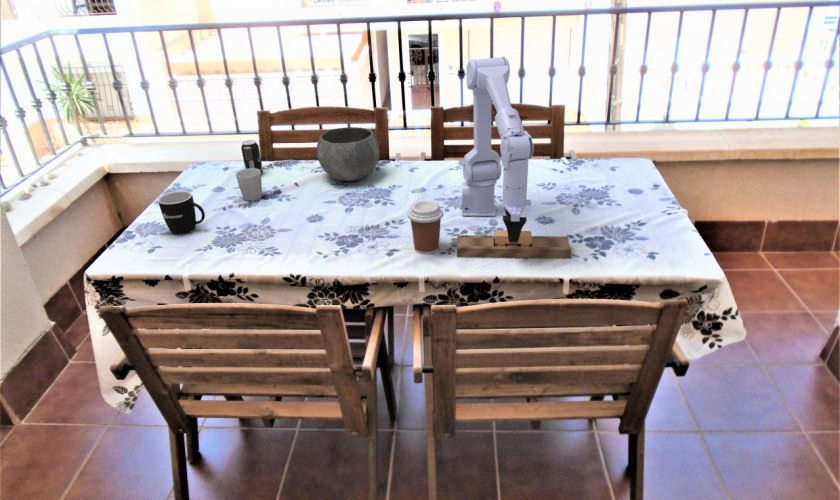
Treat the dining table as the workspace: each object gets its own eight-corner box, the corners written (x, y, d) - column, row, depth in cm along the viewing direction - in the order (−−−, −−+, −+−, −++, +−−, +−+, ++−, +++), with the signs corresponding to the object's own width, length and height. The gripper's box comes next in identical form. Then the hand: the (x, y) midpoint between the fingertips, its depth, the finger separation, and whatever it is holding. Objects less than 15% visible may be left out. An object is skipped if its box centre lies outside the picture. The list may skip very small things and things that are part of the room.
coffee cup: (441, 257, 151) (440, 214, 145) (406, 255, 152) (403, 213, 146) (446, 240, 158) (445, 199, 153) (412, 239, 160) (410, 198, 154)
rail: (456, 256, 151) (456, 248, 149) (457, 243, 157) (457, 235, 155) (570, 258, 148) (570, 249, 146) (566, 245, 154) (567, 236, 153)
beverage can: (258, 171, 210) (252, 138, 204) (266, 175, 206) (260, 141, 200) (243, 175, 207) (237, 142, 201) (251, 179, 203) (245, 145, 197)
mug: (160, 236, 167) (151, 203, 162) (176, 222, 175) (168, 190, 170) (200, 238, 166) (192, 204, 161) (215, 223, 173) (207, 191, 169)
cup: (236, 202, 186) (231, 177, 182) (248, 190, 195) (243, 165, 191) (260, 202, 185) (255, 177, 181) (270, 190, 194) (266, 165, 190)
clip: (494, 253, 151) (495, 236, 149) (494, 248, 154) (495, 230, 152) (530, 254, 150) (531, 236, 148) (530, 248, 153) (531, 231, 151)
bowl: (307, 182, 199) (301, 138, 192) (347, 162, 214) (343, 121, 206) (353, 194, 189) (349, 148, 181) (393, 173, 203) (390, 130, 196)
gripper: (534, 196, 137) (530, 248, 143) (530, 173, 149) (527, 221, 156) (502, 196, 137) (501, 248, 144) (501, 173, 150) (500, 221, 157)
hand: (512, 234), depth 150 cm, fingers open, 7 cm apart
